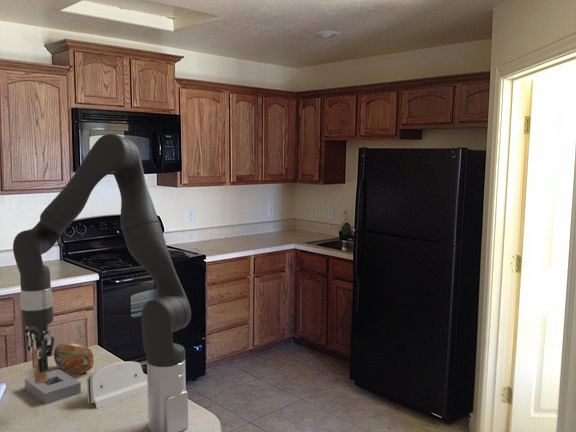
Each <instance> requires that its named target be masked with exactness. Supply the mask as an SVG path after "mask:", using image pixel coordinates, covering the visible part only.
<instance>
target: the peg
mask: <svg viewBox="0 0 576 432" xmlns="http://www.w3.org/2000/svg"><path fill="white" fill-rule="evenodd" d="M38 346H42V345H38ZM40 351H41V350H40ZM33 360H34V368H33V373H34V377H35V383H44V382H46V381H47V372H48V370H47V371H45V372H42V373H40V372H39V371H38V357H37V350H35V349H34V344H33Z"/></svg>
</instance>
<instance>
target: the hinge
mask: <svg viewBox="0 0 576 432" xmlns="http://www.w3.org/2000/svg"><path fill="white" fill-rule="evenodd" d="M145 376H146V375H145V374H144V371H143V367H142V364H141V363H140V362H138V361H130V360H129V361H119V362H114V363H111V364H108V365H105V366H103V367H101V368H99V369H97V370H95V371H94V372H93V373H92V374H90V375H88V376H87V378H86V383H87V384H86V387H87V389H86V390H87V402H88V404H94V405H95V408H96V409H99V408H103V407H106V406H108V405H111V404H113V403H117V402H120V401H122V400H126V399H128V398H131V397H133V396H136V395H137V396H138V395H140V394H142V393H145V392H148V384H147V380H146V377H145Z"/></svg>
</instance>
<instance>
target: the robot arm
mask: <svg viewBox="0 0 576 432" xmlns="http://www.w3.org/2000/svg"><path fill="white" fill-rule="evenodd" d="M140 153H141V152H140V151H139V148H138V147H137V145H136V144H135V143H134V142H133V141H132V140H130V139H129V138H126V137H123V136H121V135H119V134H115V133H106V134H103V135H102V136H101V137H99V138H98V139H97V140H96V141H95V143H94V144H93V145H92V147H91V148H90V149H89V151H88V152H87V154H86V156H85V158H84V159H83V161H82V162H81V164H80V165H79V167H78V168H77V170H76V171H75V172H74V174H73V176H72V177H71V178H70V180H69V181H68V182H67V184H66V185H65V186H64V187H63V189H62V190H61V191H59V193H58V195H56V196H55V198H53V200H52V201H51V202H50V203H49V204H48V205H47V206H46V208H44V210H43V211H41V213H40V216H39V221H38V222H37V223H36V225H35V226H33V228H29V229H26V230H23V231H20V232H18V234H16V236H14V239H13V243H12V252H13V256H14V261H15V263H16V266H17V270H18V271H19V279H20V297H19V300H20V317H21V318H20V319H21V321H20V322H21V325H22V326H24V327H27V328H24V329H23V335H24V339H25V343H26V348H27V352H30V355H31V360H32V369H34V360H33V344H34V349H35V350H37V357H38V371H39V372H40V373H42V372H45V371H47V372H48V370H49V364H48V363H49V361H48V359H49V357H52V355H53V349H54V345H55V344H54V343H55V337H54V336H50V331H49V327H48V326H49V325H50V324H51V323H53V322H54V307H53V306H54V305H53V304H54V301H53V292H52V286H51V285H52V284H51V283H52V282H51V281H52V280H51V271H50V267H49V266H47V265H46V264H44V262H43V258H42V257H43V256H42V255H43V254H46V253H47V252H49V251H50V250H51V249H52V248H53V247H54V246H55V244H56V243H57V242H58V241H59V239H60V237H62V235H63V232H64V231H65V230H66V229H67V228H68V227H69V226H70V225H71V224H72V223H73V222H74V221H75V220H76V219H77V218H78V216H80V214H81V213H82V212H83V210H84V209H85V206H86V205H87V203H88V200H89V198H90V195H91V193H92V192H93V190H94V189H95V187H96V186H97V185H98V184H99V183H100V181H102V179H104V178H105V177H106V176H108V175H109V174H110V173H112V174H113V176H114V179H115V181H116V184H117V187H118V190H119V193H120V204H121V205H120V226H121V227H120V228H121V232H122V235H123V237H124V241H125V244H126V247H127V250H128V252H129V253H130V255H131V256H132V257H133V259H134V260H135V261H136V262H137V263H138V264H139V265H140V266H141V268H143V269H144V270H145V271H146V272H147V273H148V274H149V276H150V277H151V279H152V280H153V282H154V285H155V288H156V290H157V293H158V297H155V298H153V299H150V300H148V301H147V302H145V304H144V305H143V306H142V307H143V308H142V311H141V332H142V345H143V350H144V353H145V355H146V365H147V366H146V368H147V369H146V370H147V371H146V372H147V373H146V377H147V380H146V382H147V384H148V391H147V417H148V418H147V419H148V422H147V424H148V425H147V426H148V430H149V432H182V431H184V430H186V429H188V428H189V400H188V399H189V398H188V397H189V394H188V391H187V390H186V389H187V388H186V385H187V382H186V349H185V347H184V346H183V345H181V344H179V343H175V342H173V341H174V339H173V333H174V332H178V331H179V330H182V329H184V328H186V327H187V326H188V325H189V323H191V319H192V310H191V305H190V301H189V299H188V297H187V294H186V292H185V290H184V288H183V285H182V283H181V280H180V278H179V276H178V274H177V271H176V269H175V266H174V263H173V260H172V258H171V254H170V252H169V249H168V246H167V242H166V239H165V235H164V232H163V230H162V225H161V223H160V220H159V217H158V215H157V212H156V209H155V205H154V202H153V200H152V197H151V194H150V192H149V189H148V185H147V182H146V177H145V172H144V168H143V164H142V163H143V162H142V157H141V154H140ZM38 345H42V346H38ZM40 350H41V351H40Z"/></svg>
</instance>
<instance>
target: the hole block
mask: <svg viewBox="0 0 576 432" xmlns="http://www.w3.org/2000/svg"><path fill="white" fill-rule="evenodd" d="M81 384H82V383H81V382H80V381H78V380H77V379H75V378H74V377H72V376H71V375H69V374H68V373H66V372H64V370H62V369H60V368H59V369H55V370H51V371H47V381H46V382H44V383H35V377H34V376H31V377H30V376H29V377H26V378H24V390H25V391H27V392H28V393H29V394H31V395H32V396H34V397H35V398H36V399H38V400H39V401H40V402H41V403H43V404H44V405H48V404H51V403H53V402H56V401H60V400H63V399H65V398H69V397H72V396H75V395H78V394H81V393H82V387H81V386H82V385H81Z"/></svg>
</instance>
